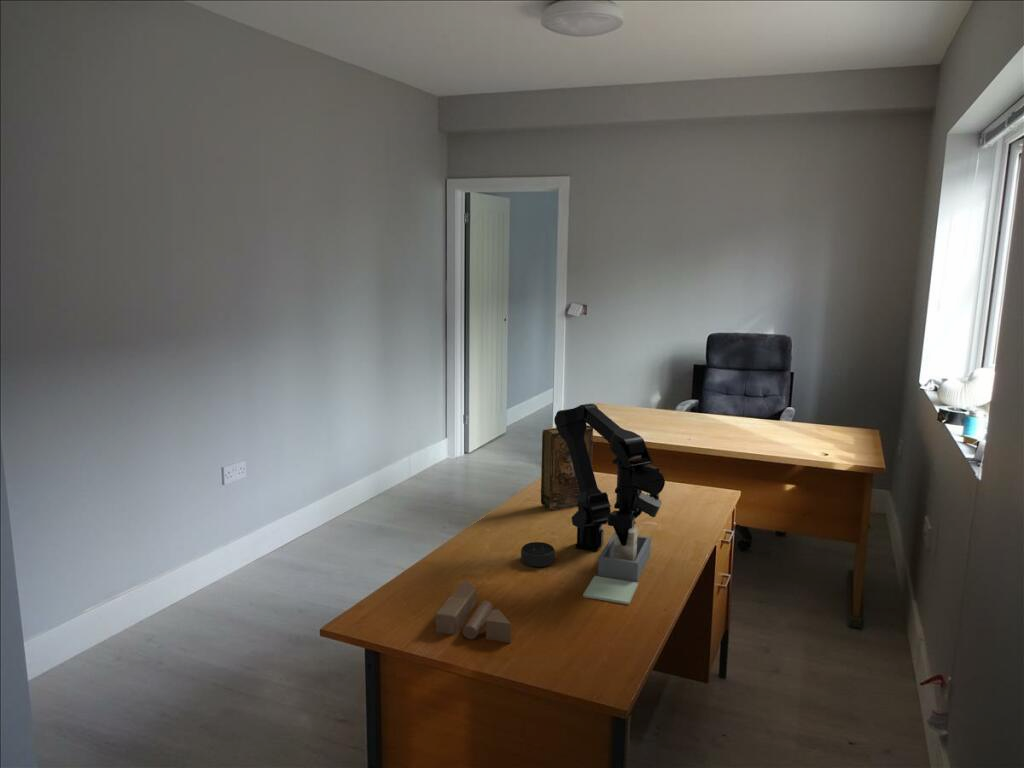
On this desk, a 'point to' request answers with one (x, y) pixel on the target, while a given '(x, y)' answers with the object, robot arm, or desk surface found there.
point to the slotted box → (624, 561)
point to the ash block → (626, 546)
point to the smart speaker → (537, 554)
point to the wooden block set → (458, 611)
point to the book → (560, 470)
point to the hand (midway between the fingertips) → (625, 541)
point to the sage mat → (611, 590)
